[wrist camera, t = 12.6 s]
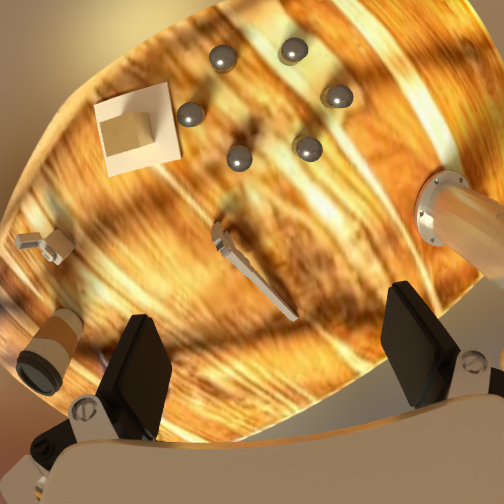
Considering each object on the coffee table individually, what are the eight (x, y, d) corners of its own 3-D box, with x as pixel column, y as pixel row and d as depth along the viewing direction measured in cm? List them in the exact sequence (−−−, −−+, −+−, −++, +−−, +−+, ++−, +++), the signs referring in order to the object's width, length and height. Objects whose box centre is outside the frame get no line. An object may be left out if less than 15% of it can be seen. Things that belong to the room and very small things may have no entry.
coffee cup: (60, 337, 46) (29, 393, 32) (44, 301, 42) (4, 356, 29) (94, 339, 46) (66, 402, 33) (79, 302, 43) (41, 364, 29)
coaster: (167, 82, 30) (166, 81, 29) (181, 158, 34) (180, 158, 34) (95, 105, 30) (94, 105, 29) (110, 176, 34) (109, 177, 34)
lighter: (75, 245, 38) (50, 271, 31) (70, 252, 39) (45, 279, 31) (45, 215, 36) (15, 235, 28) (40, 223, 36) (11, 244, 29)
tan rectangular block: (148, 112, 31) (132, 111, 25) (154, 142, 33) (139, 147, 27) (119, 120, 31) (99, 122, 25) (125, 150, 33) (106, 157, 27)
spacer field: (332, 44, 29) (343, 37, 25) (347, 152, 35) (359, 157, 32) (173, 62, 29) (166, 56, 25) (194, 174, 35) (189, 181, 32)
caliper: (212, 224, 39) (208, 243, 33) (218, 219, 38) (216, 237, 33) (292, 319, 46) (300, 345, 41) (298, 316, 46) (306, 342, 41)
